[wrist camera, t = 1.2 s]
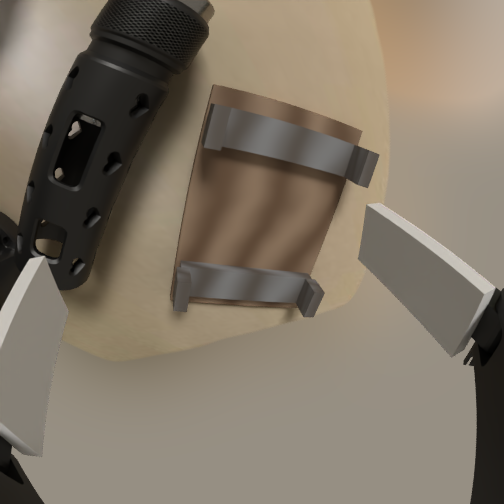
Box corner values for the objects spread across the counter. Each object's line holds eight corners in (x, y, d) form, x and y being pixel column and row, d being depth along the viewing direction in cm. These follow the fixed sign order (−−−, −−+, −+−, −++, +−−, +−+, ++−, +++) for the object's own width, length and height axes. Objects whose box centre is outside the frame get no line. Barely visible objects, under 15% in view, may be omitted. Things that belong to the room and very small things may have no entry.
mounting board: (170, 295, 38) (171, 323, 33) (212, 84, 27) (220, 82, 22) (294, 303, 44) (307, 328, 39) (357, 129, 33) (384, 137, 28)
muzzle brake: (34, 223, 28) (-3, 269, 20) (136, -4, 20) (121, -43, 11) (100, 251, 33) (81, 306, 24) (214, 30, 24) (233, 1, 15)
